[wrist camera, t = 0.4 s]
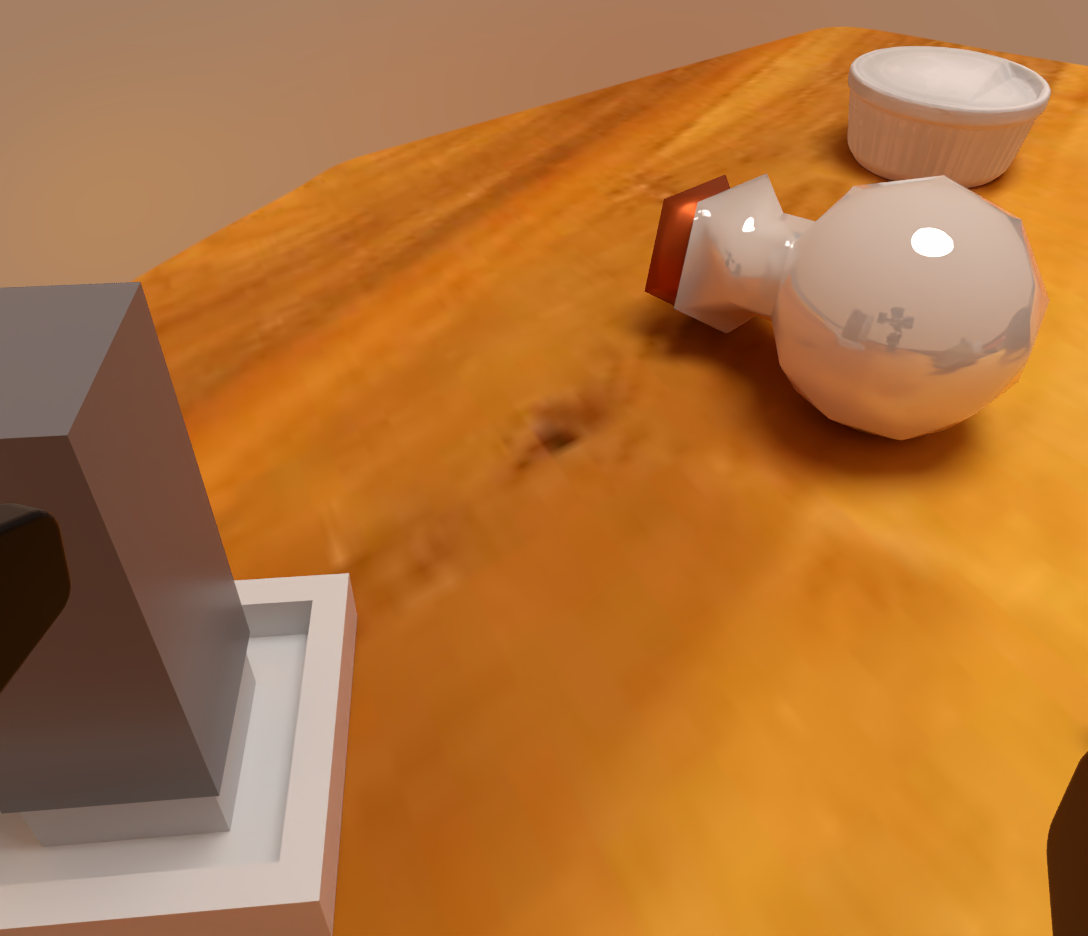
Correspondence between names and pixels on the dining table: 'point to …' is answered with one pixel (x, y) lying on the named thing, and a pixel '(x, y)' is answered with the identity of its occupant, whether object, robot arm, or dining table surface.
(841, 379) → the potion bottle
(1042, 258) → the dining table surface
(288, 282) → the dining table surface
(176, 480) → the plug
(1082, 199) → the dining table surface
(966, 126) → the ramekin
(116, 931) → the tray
